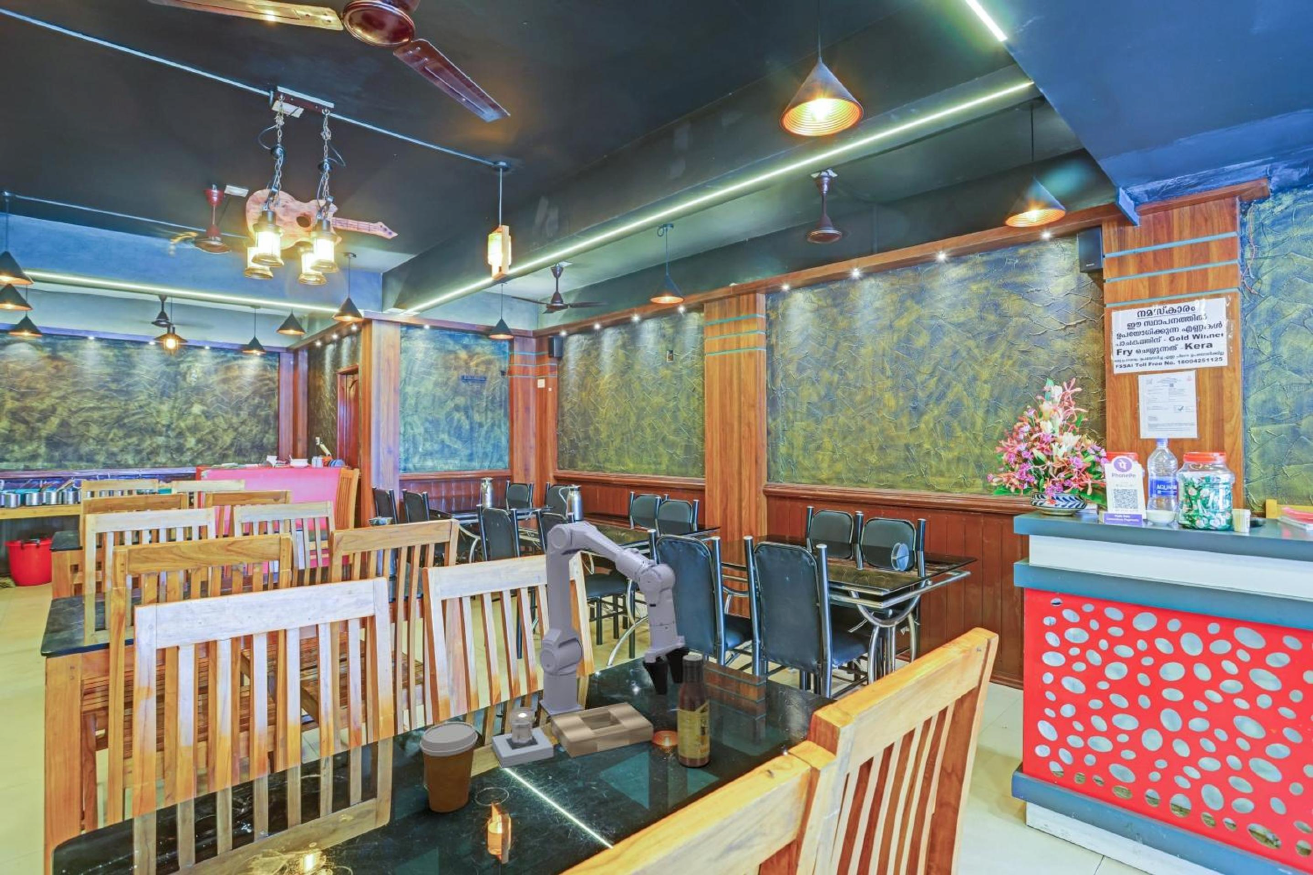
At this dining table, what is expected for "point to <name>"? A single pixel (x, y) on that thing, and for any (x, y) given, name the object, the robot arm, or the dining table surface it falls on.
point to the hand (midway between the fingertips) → (670, 688)
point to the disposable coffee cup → (448, 764)
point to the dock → (600, 729)
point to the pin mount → (522, 749)
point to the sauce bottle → (693, 715)
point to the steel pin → (521, 726)
